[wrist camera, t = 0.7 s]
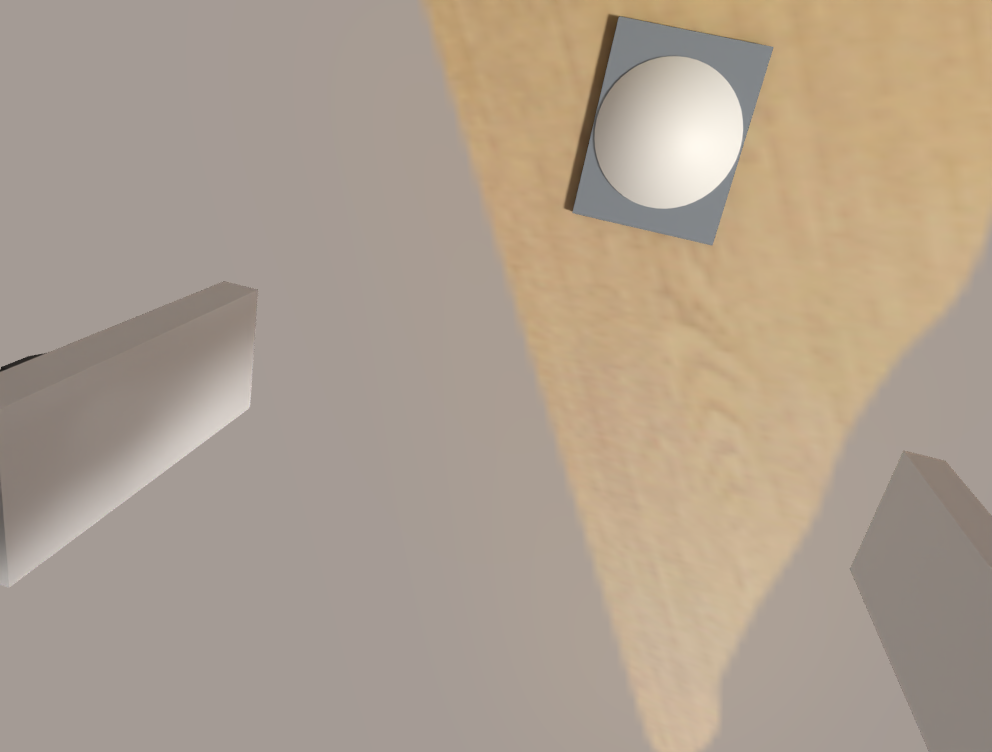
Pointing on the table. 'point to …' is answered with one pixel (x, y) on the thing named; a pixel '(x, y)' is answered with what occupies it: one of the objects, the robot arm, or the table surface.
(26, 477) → the robot arm
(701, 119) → the seat plate
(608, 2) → the table surface
